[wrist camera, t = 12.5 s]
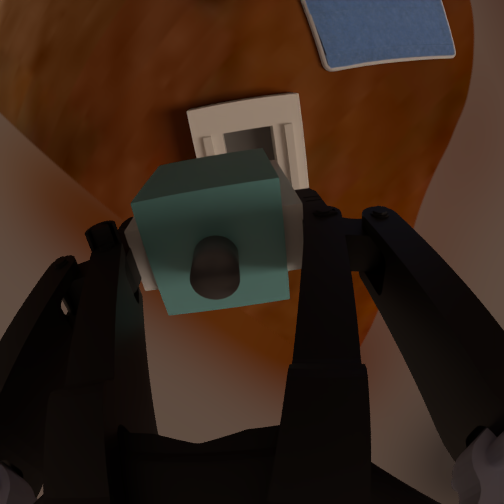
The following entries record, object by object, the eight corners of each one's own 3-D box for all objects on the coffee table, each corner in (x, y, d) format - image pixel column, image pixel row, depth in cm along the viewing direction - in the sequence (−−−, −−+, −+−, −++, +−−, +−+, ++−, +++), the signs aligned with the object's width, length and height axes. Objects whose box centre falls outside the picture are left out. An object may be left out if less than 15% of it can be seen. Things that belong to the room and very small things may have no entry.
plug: (170, 152, 17) (117, 222, 8) (256, 138, 17) (287, 193, 8) (187, 229, 19) (164, 341, 11) (266, 216, 19) (296, 324, 11)
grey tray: (190, 108, 30) (185, 111, 27) (292, 92, 29) (299, 93, 26) (220, 244, 39) (220, 259, 36) (307, 229, 38) (313, 243, 35)
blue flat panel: (322, 73, 29) (326, 73, 28) (288, -24, 22) (291, -28, 21) (452, 58, 27) (458, 58, 26) (427, -26, 20) (432, -28, 19)
